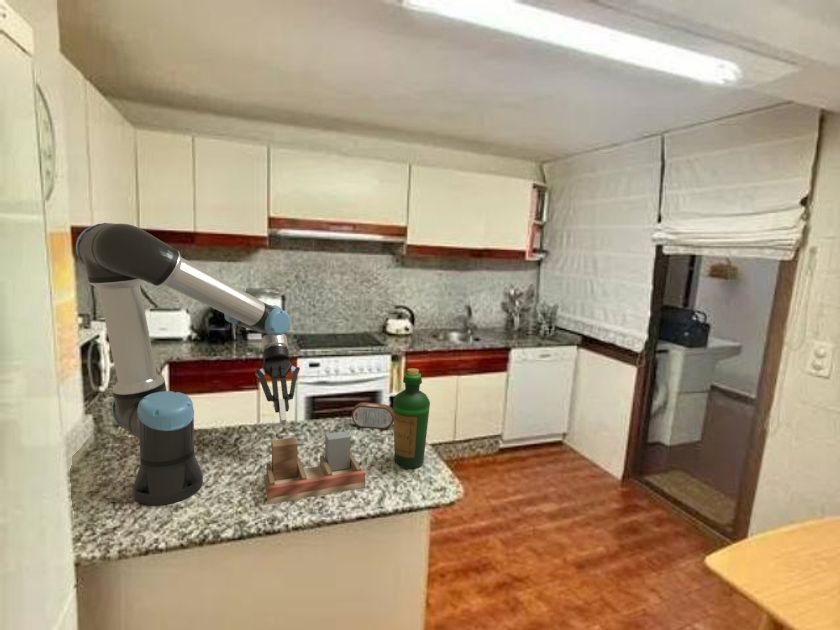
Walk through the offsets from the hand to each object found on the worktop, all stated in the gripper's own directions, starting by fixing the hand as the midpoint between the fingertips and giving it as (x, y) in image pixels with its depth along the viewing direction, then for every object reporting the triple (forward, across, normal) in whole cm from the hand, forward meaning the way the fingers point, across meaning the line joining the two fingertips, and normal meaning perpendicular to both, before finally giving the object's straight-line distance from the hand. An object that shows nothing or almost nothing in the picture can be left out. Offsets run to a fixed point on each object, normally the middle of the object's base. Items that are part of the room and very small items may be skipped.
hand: (283, 421), depth 127 cm
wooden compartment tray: (+19, -6, +2) cm, 20 cm away
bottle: (+17, -34, 0) cm, 38 cm away
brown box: (+15, +1, +1) cm, 15 cm away
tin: (-2, -32, -20) cm, 38 cm away
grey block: (+15, -13, +1) cm, 20 cm away
